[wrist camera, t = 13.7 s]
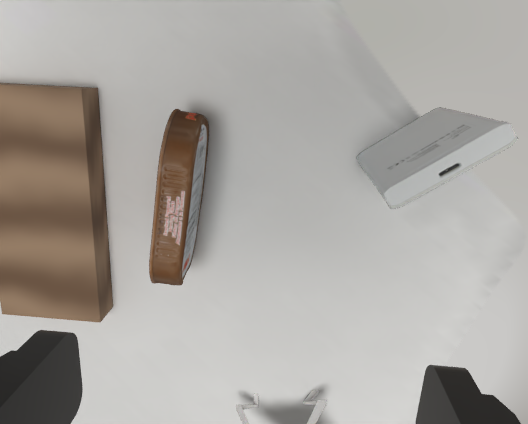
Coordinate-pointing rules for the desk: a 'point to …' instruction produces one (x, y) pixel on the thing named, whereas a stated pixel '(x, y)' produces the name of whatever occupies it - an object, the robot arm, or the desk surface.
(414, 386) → the desk surface
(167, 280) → the tin
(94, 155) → the walnut riser
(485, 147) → the external hard drive
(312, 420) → the origami figure
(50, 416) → the robot arm
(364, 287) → the desk surface
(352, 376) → the desk surface
